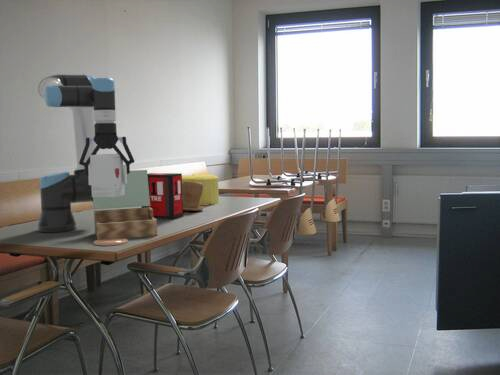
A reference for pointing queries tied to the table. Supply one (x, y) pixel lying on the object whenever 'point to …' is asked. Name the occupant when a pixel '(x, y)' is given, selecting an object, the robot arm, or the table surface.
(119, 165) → the supplement box
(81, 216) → the table surface
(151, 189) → the cleaning product box
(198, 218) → the table surface
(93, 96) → the robot arm
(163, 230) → the table surface
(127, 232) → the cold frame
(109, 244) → the tan round disc
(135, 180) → the sage green board
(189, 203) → the brown tapered block
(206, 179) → the cheese
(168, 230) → the table surface
